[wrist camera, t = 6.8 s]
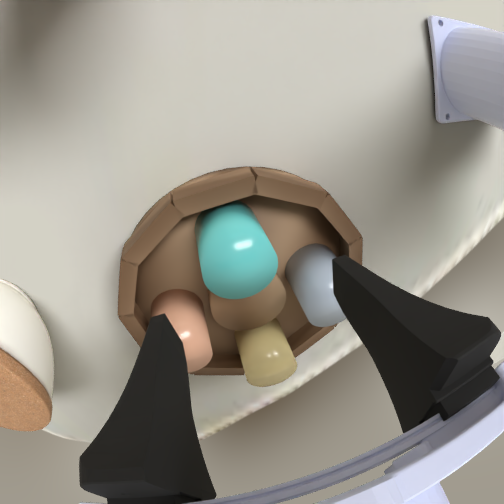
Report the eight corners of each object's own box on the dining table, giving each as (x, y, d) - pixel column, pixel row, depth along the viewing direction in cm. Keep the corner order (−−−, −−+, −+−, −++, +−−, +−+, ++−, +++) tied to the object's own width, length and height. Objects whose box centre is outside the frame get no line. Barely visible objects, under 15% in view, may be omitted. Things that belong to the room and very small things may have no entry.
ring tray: (340, 138, 17) (361, 149, 15) (346, 316, 26) (358, 335, 24) (78, 220, 16) (68, 242, 14) (176, 372, 25) (178, 395, 23)
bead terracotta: (193, 282, 19) (201, 329, 16) (210, 318, 21) (220, 364, 18) (141, 298, 19) (140, 346, 16) (163, 332, 21) (166, 378, 18)
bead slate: (332, 236, 20) (362, 273, 17) (334, 276, 22) (360, 314, 19) (281, 253, 20) (304, 294, 16) (288, 293, 22) (309, 334, 18)
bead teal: (250, 191, 17) (272, 226, 13) (261, 244, 19) (282, 286, 16) (186, 209, 16) (192, 250, 13) (204, 261, 18) (213, 307, 15)
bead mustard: (276, 308, 22) (294, 350, 19) (282, 337, 24) (299, 375, 21) (229, 323, 22) (241, 367, 19) (240, 351, 24) (252, 391, 21)
